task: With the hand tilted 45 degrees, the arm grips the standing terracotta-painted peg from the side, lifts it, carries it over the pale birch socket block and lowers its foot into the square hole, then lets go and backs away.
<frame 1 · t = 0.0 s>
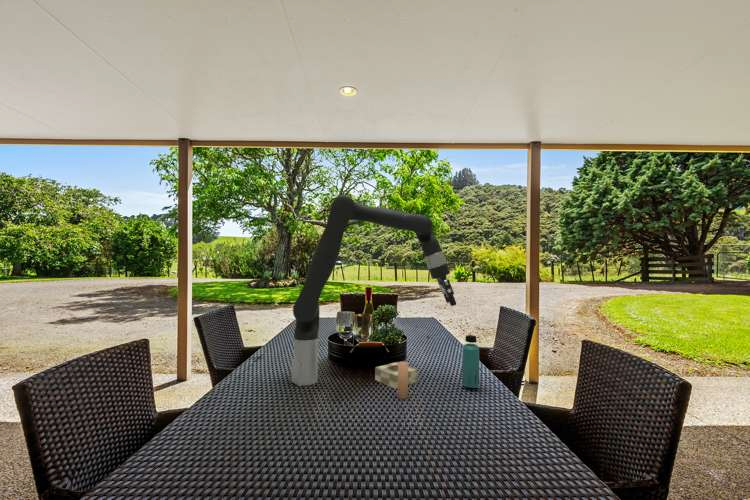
hand: (451, 303, 144), 31 cm above the table, tool tilted 20°, fingers open, 8 cm apart
socket: (396, 380, 147), on the table
peg: (402, 396, 131), on the table
beverage bottle: (470, 388, 140), on the table
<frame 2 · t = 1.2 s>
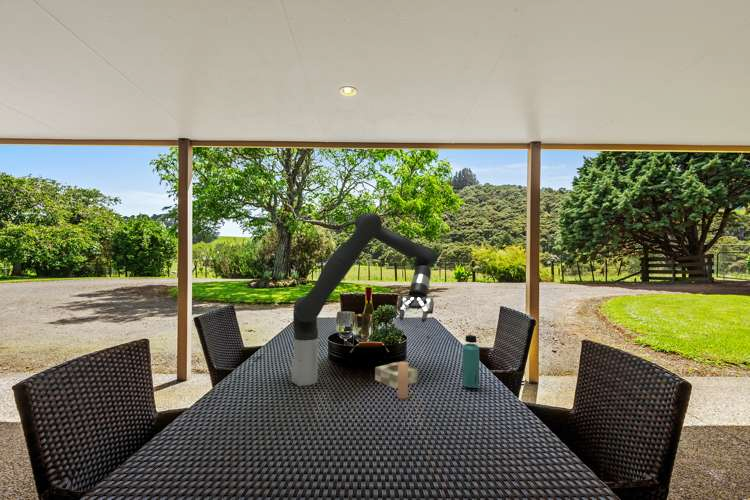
hand: (412, 320, 142), 25 cm above the table, tool tilted 45°, fingers open, 8 cm apart
nothing on the table moved.
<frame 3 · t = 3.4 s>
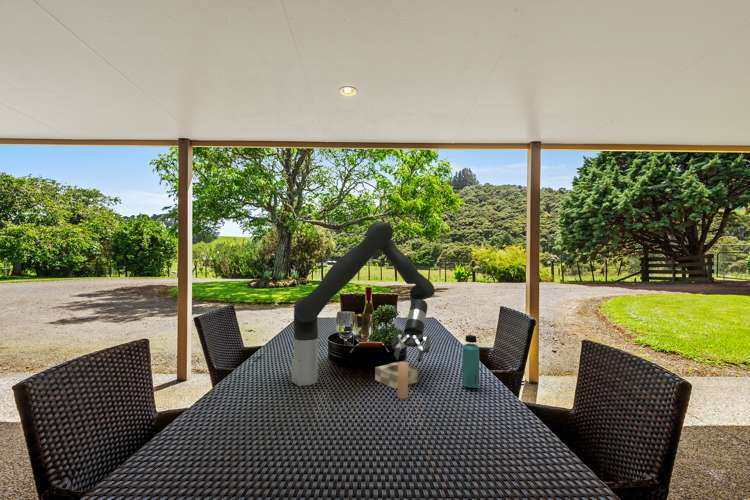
hand: (407, 360, 137), 11 cm above the table, tool tilted 45°, fingers open, 8 cm apart
nothing on the table moved.
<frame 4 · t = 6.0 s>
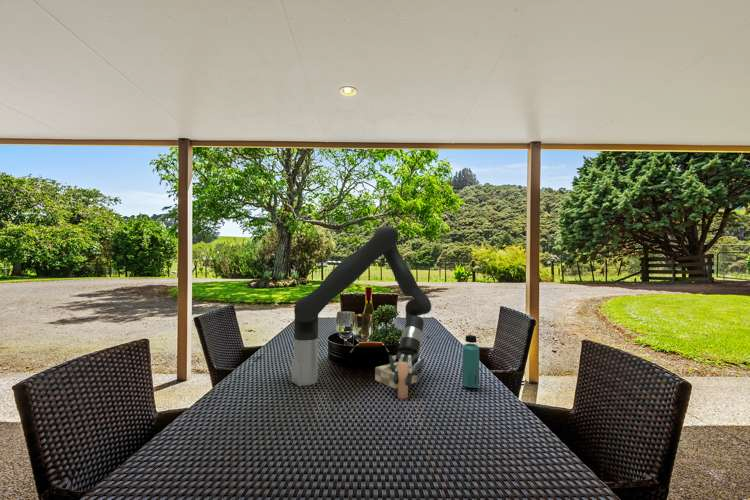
hand: (401, 384, 130), 5 cm above the table, tool tilted 45°, fingers closed on peg, 3 cm apart
peg: (402, 396, 131), on the table, touching gripper
everything else where it was.
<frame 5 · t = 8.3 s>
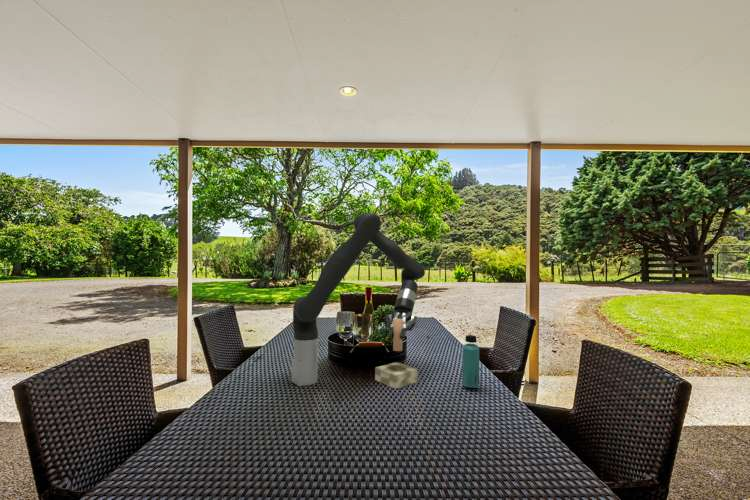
hand: (396, 337, 143), 18 cm above the table, tool tilted 45°, fingers closed on peg, 3 cm apart
peg: (397, 349, 145), point 13 cm above the table, touching gripper
everything else where it was.
when the fingers open (9 cm above the table, at t = 10.6 s): peg drops 4 cm, resting in socket.
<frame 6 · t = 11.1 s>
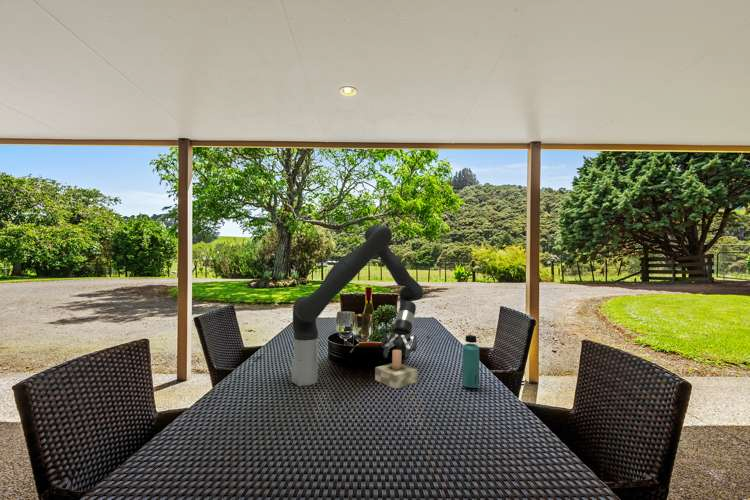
hand: (395, 358, 146), 9 cm above the table, tool tilted 45°, fingers open, 8 cm apart
peg: (396, 380, 147), resting in socket
everything else where it was.
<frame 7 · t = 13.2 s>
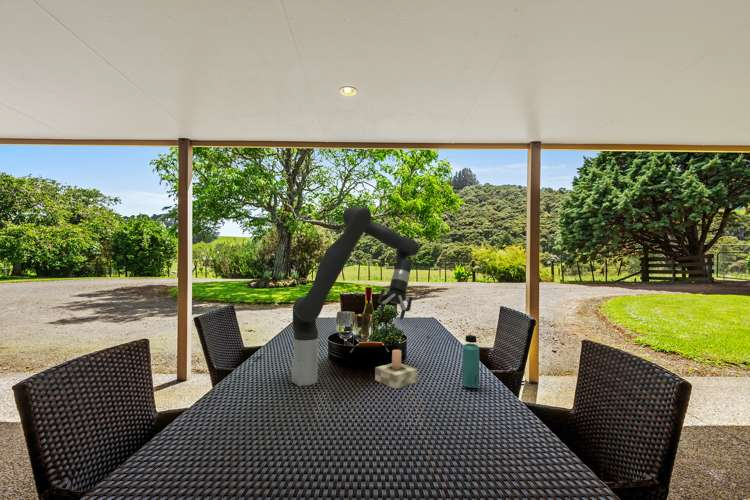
hand: (391, 316, 158), 24 cm above the table, tool tilted 30°, fingers open, 8 cm apart
nothing on the table moved.
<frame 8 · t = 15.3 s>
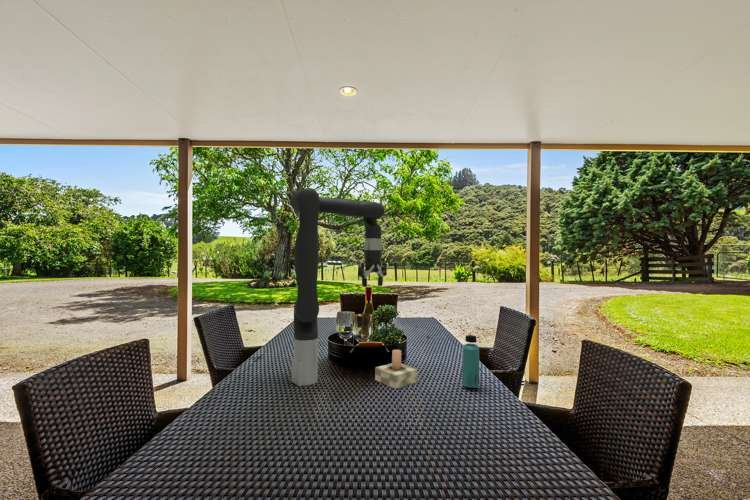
hand: (372, 286, 161), 36 cm above the table, tool pointing down, fingers open, 8 cm apart
nothing on the table moved.
at the end: peg 0.1 cm off-centre on the socket, point 0.0 cm above the socket's base; peg tilted 0°; the gripper is holding nothing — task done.
